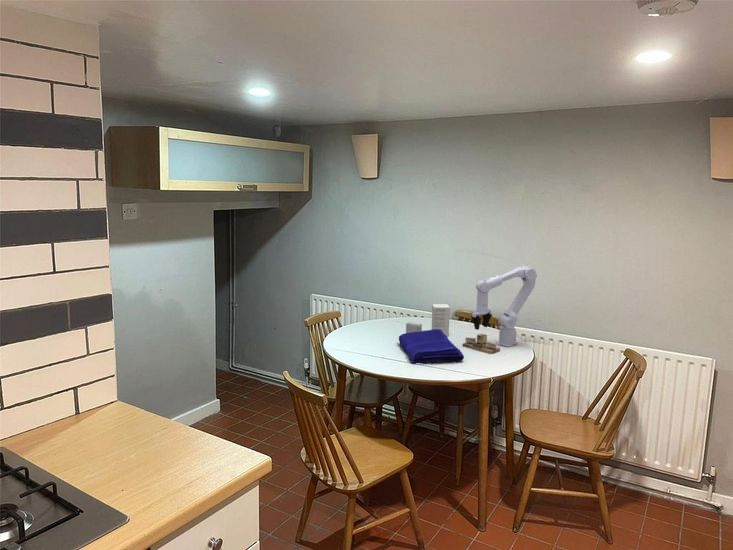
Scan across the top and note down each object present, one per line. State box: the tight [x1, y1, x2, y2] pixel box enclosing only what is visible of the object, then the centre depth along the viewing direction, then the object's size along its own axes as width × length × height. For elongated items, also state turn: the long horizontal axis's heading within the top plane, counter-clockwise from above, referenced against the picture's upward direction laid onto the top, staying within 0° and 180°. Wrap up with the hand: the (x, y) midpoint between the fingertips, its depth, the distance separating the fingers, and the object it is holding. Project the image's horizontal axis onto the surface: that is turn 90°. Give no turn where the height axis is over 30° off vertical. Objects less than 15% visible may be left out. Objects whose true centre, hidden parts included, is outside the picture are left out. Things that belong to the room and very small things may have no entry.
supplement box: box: [431, 303, 451, 337], centre depth 309 cm, size 10×9×17 cm
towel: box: [398, 329, 465, 365], centre depth 276 cm, size 26×36×9 cm
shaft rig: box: [462, 336, 501, 355], centre depth 283 cm, size 8×18×4 cm, turn 43°
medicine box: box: [405, 321, 423, 334], centre depth 300 cm, size 8×4×9 cm, turn 59°
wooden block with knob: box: [476, 333, 488, 347], centre depth 283 cm, size 4×4×6 cm
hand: (481, 328), depth 288 cm, fingers open, 7 cm apart
